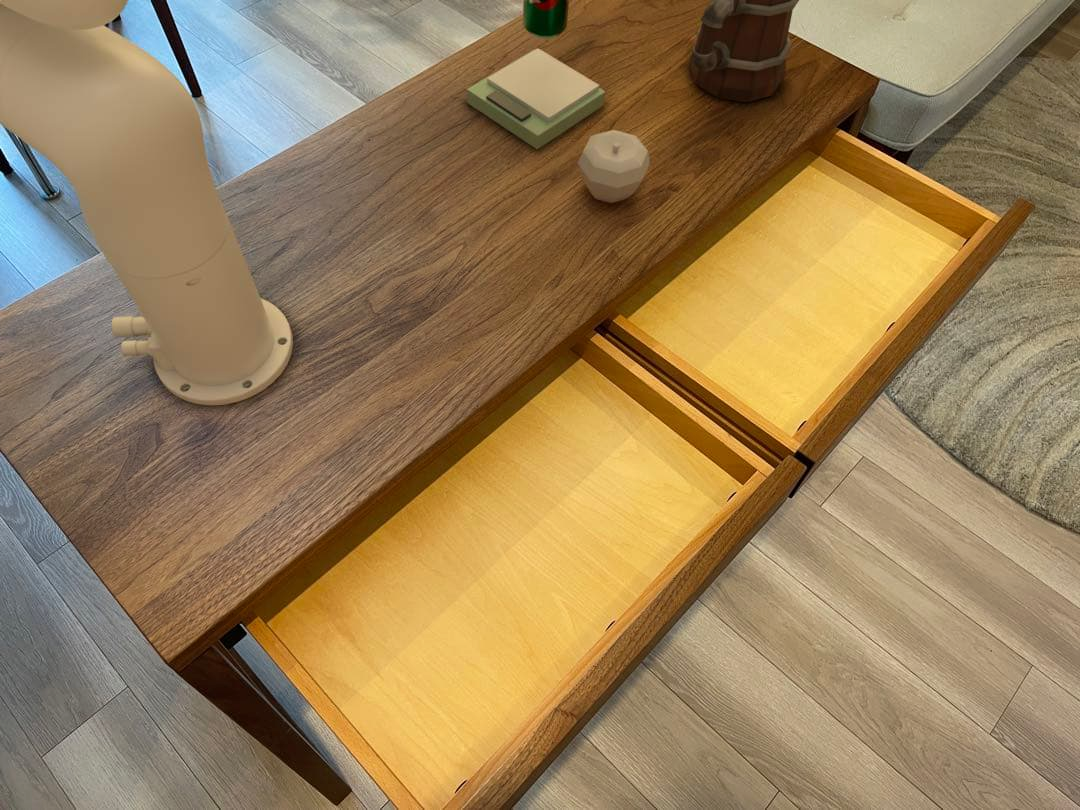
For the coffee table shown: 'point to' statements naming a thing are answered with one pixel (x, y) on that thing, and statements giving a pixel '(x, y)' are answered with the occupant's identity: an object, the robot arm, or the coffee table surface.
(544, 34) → the soda can
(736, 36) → the mug
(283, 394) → the coffee table surface
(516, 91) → the scale
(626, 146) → the white apple
